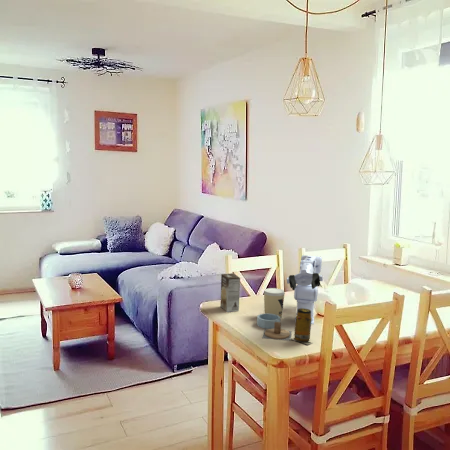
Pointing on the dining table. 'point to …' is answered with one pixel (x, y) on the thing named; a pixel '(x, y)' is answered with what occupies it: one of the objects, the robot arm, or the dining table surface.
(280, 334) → the lid
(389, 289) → the dining table surface
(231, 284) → the coffee box
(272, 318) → the bowl
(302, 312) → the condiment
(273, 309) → the coffee cup
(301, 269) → the robot arm
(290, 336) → the mat
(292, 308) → the dining table surface
